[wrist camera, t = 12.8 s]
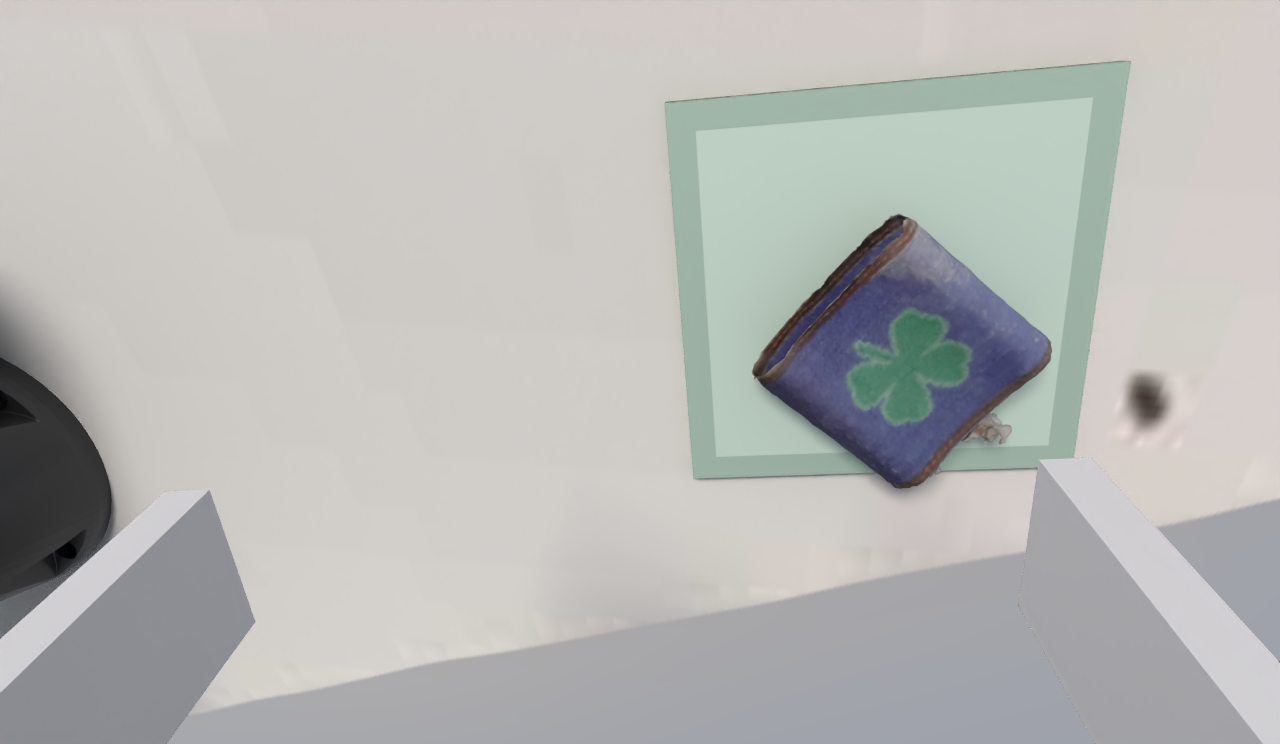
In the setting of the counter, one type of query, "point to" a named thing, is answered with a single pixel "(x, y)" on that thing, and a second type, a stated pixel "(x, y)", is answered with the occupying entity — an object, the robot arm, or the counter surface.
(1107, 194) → the mat
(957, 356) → the blue clover box
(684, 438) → the counter surface
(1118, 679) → the robot arm
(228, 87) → the counter surface
